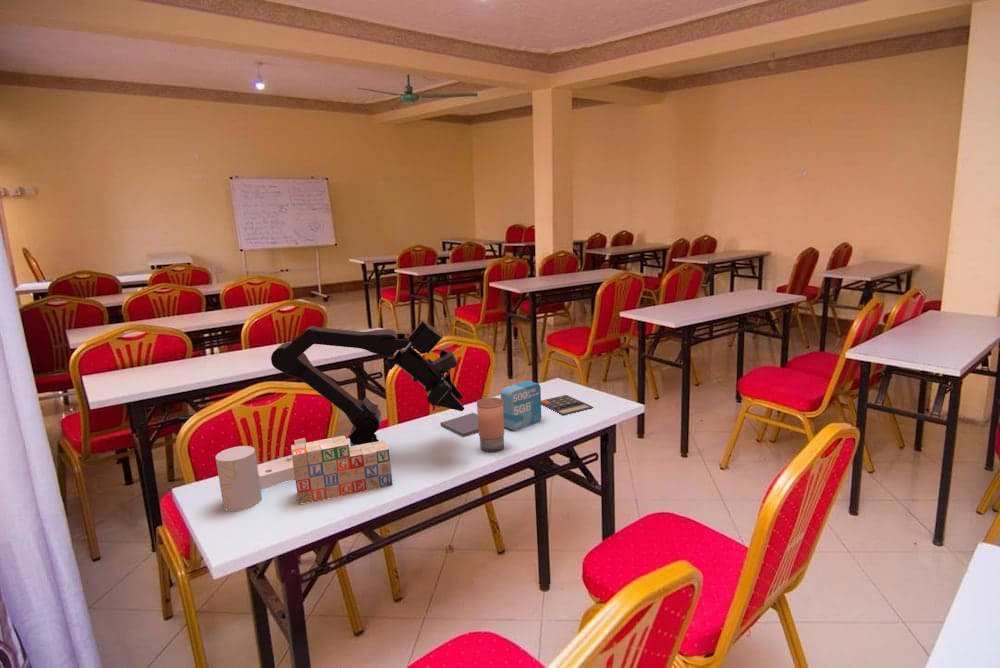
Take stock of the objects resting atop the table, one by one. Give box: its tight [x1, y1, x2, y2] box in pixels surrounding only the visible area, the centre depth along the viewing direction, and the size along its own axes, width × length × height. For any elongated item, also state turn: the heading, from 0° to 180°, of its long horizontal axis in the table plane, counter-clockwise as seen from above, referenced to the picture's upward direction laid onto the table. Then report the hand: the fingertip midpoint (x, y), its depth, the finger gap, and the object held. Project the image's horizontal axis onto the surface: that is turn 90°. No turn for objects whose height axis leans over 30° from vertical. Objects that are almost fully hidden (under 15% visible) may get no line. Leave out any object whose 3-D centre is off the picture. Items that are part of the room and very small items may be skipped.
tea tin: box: [479, 434, 505, 454], centre depth 158 cm, size 6×6×4 cm
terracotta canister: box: [476, 397, 505, 439], centre depth 157 cm, size 7×7×9 cm
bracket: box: [257, 437, 307, 489], centre depth 147 cm, size 13×7×8 cm, turn 124°
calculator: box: [541, 394, 594, 417], centre depth 189 cm, size 12×1×15 cm
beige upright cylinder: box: [215, 445, 263, 512], centre depth 134 cm, size 8×8×12 cm
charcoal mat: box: [440, 412, 479, 438], centre depth 175 cm, size 12×12×1 cm
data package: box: [500, 380, 542, 432], centre depth 173 cm, size 12×4×12 cm, turn 131°
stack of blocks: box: [290, 435, 393, 505], centre depth 138 cm, size 21×6×12 cm, turn 111°
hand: (462, 403), depth 155 cm, fingers open, 9 cm apart
